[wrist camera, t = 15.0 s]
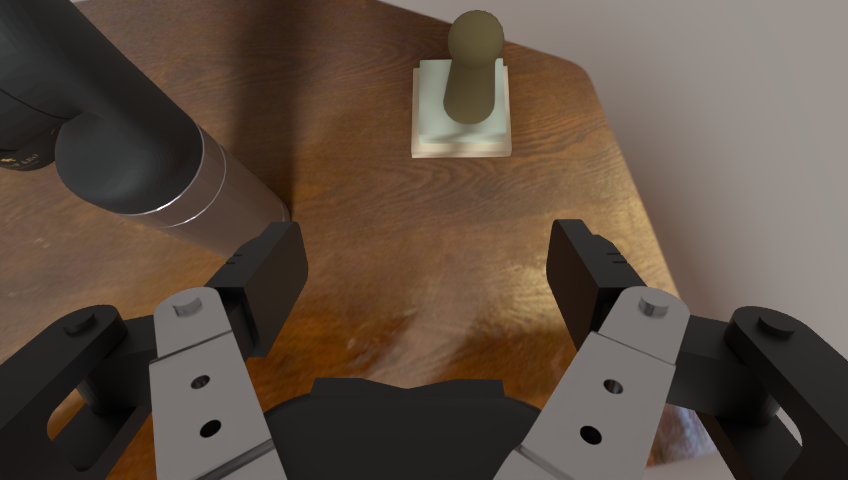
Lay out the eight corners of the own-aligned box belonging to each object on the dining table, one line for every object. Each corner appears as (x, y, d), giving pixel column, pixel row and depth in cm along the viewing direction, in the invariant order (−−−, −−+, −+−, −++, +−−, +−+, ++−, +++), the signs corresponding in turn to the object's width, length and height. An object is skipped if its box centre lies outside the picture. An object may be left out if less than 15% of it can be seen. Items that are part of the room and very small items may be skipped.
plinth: (412, 157, 47) (409, 140, 43) (414, 76, 50) (411, 53, 46) (509, 156, 46) (515, 139, 42) (505, 74, 50) (510, 51, 46)
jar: (2, 186, 49) (-77, 157, 41) (0, 122, 51) (-74, 85, 44) (78, 161, 49) (14, 129, 42) (72, 99, 52) (11, 58, 44)
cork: (485, 131, 43) (499, 61, 32) (435, 116, 44) (433, 43, 33) (501, 87, 44) (520, 7, 34) (453, 74, 45) (456, -9, 35)
